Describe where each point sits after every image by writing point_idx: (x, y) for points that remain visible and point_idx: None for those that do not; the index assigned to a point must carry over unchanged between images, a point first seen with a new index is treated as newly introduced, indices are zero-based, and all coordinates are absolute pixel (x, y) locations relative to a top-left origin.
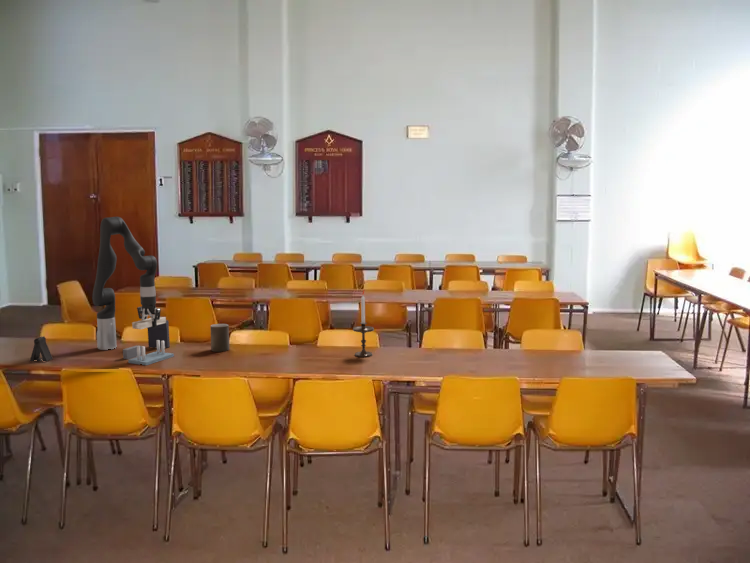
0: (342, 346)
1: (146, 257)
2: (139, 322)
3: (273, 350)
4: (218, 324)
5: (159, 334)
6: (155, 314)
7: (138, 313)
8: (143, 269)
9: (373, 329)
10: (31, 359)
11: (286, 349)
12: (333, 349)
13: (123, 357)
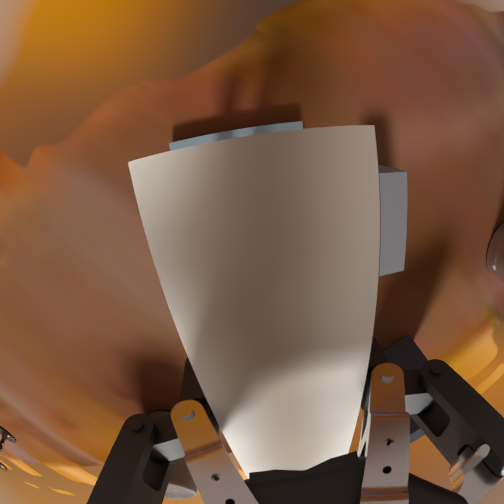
0: (61, 464)
1: None
2: (242, 212)
3: (87, 442)
4: (178, 494)
5: None
6: (119, 484)
7: (478, 401)
8: None
9: None
10: None
11: (82, 449)
12: (48, 453)
13: (382, 165)
